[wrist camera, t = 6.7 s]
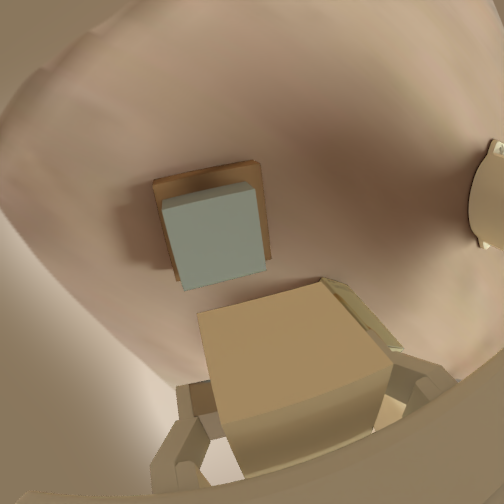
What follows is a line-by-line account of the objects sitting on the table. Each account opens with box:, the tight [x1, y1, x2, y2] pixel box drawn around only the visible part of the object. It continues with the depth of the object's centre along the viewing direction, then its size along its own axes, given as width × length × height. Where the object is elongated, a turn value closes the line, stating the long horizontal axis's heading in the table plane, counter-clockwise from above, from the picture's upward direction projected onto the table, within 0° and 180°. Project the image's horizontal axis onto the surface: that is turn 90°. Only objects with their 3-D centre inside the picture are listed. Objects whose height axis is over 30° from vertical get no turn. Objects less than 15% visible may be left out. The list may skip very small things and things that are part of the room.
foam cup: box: [374, 394, 406, 431], centre depth 45 cm, size 10×9×13 cm
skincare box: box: [319, 277, 404, 352], centre depth 31 cm, size 6×4×12 cm
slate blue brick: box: [162, 181, 266, 291], centre depth 25 cm, size 7×7×3 cm
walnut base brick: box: [152, 160, 271, 281], centre depth 27 cm, size 9×9×3 cm
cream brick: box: [197, 282, 394, 479], centre depth 10 cm, size 5×5×5 cm
